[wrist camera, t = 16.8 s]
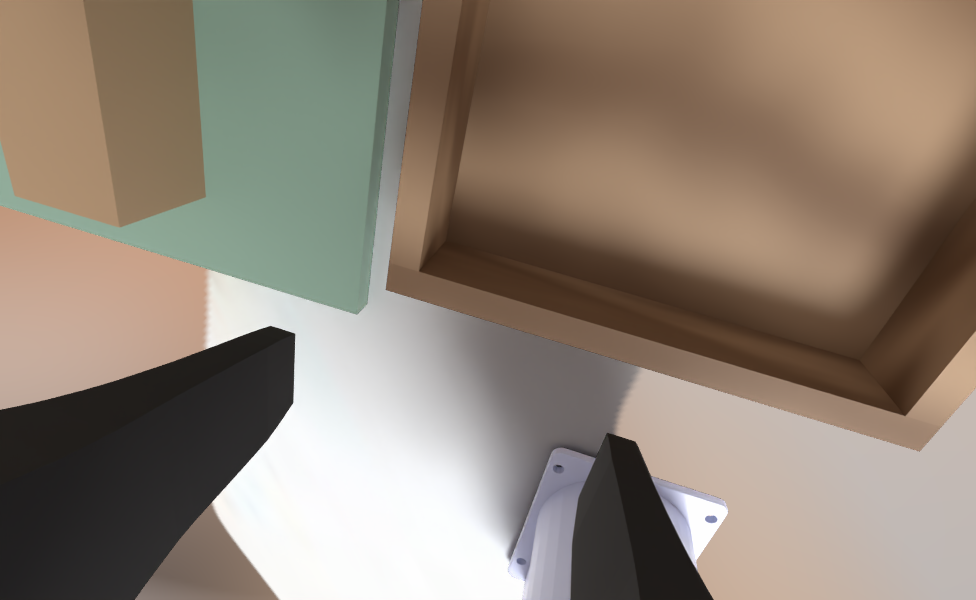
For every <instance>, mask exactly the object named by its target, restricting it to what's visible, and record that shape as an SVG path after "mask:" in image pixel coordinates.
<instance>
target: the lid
mask: <svg viewBox="0 0 976 600" xmlns="http://www.w3.org/2000/svg"><path fill="white" fill-rule="evenodd" d="M398 7H399V0H0V206H3V207H7V208H10V209H13V210H17V211H20V212H23V213H26V214H29V215H33V216H36V217H39V218H43V219H46V220H49V221H52V222H56V223H59V224H62V225H66V226H69V227H72V228H75V229H79V230H82V231H85V232H89V233H92V234H95V235H98V236H102V237H105V238H108V239H111V240H115V241H118V242H121V243H124V244H128V245H131V246H134V247H137V248H141V249H144V250H147V251H151V252H154V253H158V254H160V255H164V256H167V257H170V258H173V259H177V260H180V261H184V262H187V263H190V264H193V265H196V266H200V267H203V268H206V269H209V270H213V271H216V272H219V273H223V274H226V275H229V276H232V277H236V278H239V279H242V280H245V281H249V282H252V283H255V284H259V285H262V286H265V287H268V288H272V289H275V290H278V291H282V292H285V293H288V294H291V295H295V296H298V297H301V298H304V299H308V300H311V301H314V302H318V303H321V304H324V305H327V306H331V307H334V308H337V309H340V310H344V311H347V312H350V313H354V314H358V313H359V312H360V311H361V310H362V309H363V308H364V307H365V306H366V305H367V301H368V292H369V282H370V273H371V263H372V254H373V244H374V235H375V225H376V216H377V206H378V197H379V187H380V178H381V168H382V159H383V149H384V140H385V130H386V121H387V111H388V102H389V92H390V83H391V73H392V64H393V54H394V45H395V35H396V26H397V16H398Z"/></svg>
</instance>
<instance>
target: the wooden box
mask: <svg viewBox="0 0 976 600" xmlns="http://www.w3.org/2000/svg"><path fill="white" fill-rule="evenodd" d="M386 290H388V291H391V292H395V293H398V294H401V295H404V296H408V297H411V298H414V299H418V300H421V301H424V302H428V303H431V304H434V305H437V306H441V307H444V308H447V309H451V310H454V311H457V312H461V313H464V314H467V315H470V316H474V317H477V318H480V319H484V320H487V321H490V322H494V323H497V324H500V325H504V326H507V327H510V328H513V329H517V330H520V331H523V332H527V333H530V334H533V335H537V336H540V337H543V338H546V339H550V340H553V341H556V342H560V343H563V344H566V345H570V346H573V347H576V348H579V349H583V350H586V351H589V352H593V353H596V354H599V355H603V356H606V357H609V358H613V359H616V360H619V361H622V362H626V363H629V364H632V365H636V366H639V367H642V368H646V369H649V370H652V371H655V372H659V373H663V374H665V375H669V376H672V377H675V378H679V379H682V380H686V381H688V382H692V383H695V384H699V385H702V386H705V387H708V388H712V389H715V390H718V391H721V392H725V393H728V394H732V395H735V396H738V397H741V398H745V399H748V400H751V401H755V402H758V403H761V404H764V405H768V406H771V407H774V408H778V409H781V410H784V411H788V412H791V413H794V414H797V415H801V416H804V417H807V418H811V419H814V420H818V421H821V422H824V423H828V424H831V425H834V426H837V427H840V428H844V429H847V430H850V431H854V432H857V433H860V434H864V435H867V436H870V437H874V438H877V439H880V440H883V441H887V442H890V443H893V444H897V445H900V446H903V447H906V448H910V449H913V450H917V451H920V450H921V449H922V448H923V447H924V446H925V445H926V444H927V443H928V442H929V440H930V439H931V438H932V437H933V436H934V435H935V434H936V432H937V431H938V430H939V429H940V428H941V427H942V426H943V425H944V423H945V422H946V421H947V420H948V419H949V418H950V417H951V415H952V414H953V413H954V412H955V411H956V410H957V409H958V408H959V406H960V405H961V404H962V403H963V402H964V401H965V400H966V399H967V397H968V396H969V395H970V394H971V393H972V392H973V391H974V389H975V388H976V0H423V2H422V10H421V18H420V26H419V34H418V41H417V49H416V57H415V65H414V73H413V81H412V88H411V96H410V104H409V112H408V120H407V128H406V135H405V143H404V151H403V159H402V167H401V174H400V182H399V190H398V198H397V206H396V214H395V221H394V229H393V237H392V245H391V253H390V260H389V268H388V276H387V284H386Z"/></svg>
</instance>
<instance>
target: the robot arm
mask: <svg viewBox="0 0 976 600" xmlns="http://www.w3.org/2000/svg"><path fill="white" fill-rule="evenodd" d="M294 358H295V334H294V333H291V332H288V331H285V330H282V329H279V328H275V327H272V326H269V327H266V328H263V329H260V330H257V331H254V332H251V333H248V334H246V335H243V336H240V337H238V338H235V339H232V340H230V341H227V342H224V343H222V344H219V345H217V346H214V347H211V348H209V349H206V350H203V351H201V352H198V353H195V354H192V355H190V356H187V357H184V358H182V359H179V360H176V361H174V362H171V363H168V364H165V365H162V366H159V367H156V368H153V369H150V370H147V371H144V372H141V373H138V374H135V375H132V376H129V377H126V378H123V379H120V380H117V381H114V382H110V383H107V384H104V385H100V386H97V387H93V388H90V389H86V390H83V391H79V392H75V393H71V394H67V395H64V396H60V397H56V398H52V399H48V400H44V401H40V402H36V403H31V404H26V405H22V406H17V407H12V408H7V409H2V410H0V600H135V598H136V597H137V596H138V594H139V593H140V591H141V590H142V589H143V587H144V586H145V584H146V583H147V582H148V580H149V579H150V578H151V576H152V575H153V574H154V572H155V571H156V570H157V568H158V567H159V566H160V564H161V563H162V562H163V560H164V559H165V558H166V556H167V555H168V554H169V552H170V551H171V550H172V548H173V547H174V546H175V544H176V543H177V542H178V540H179V539H180V538H181V537H182V536H183V534H184V533H185V532H186V531H187V530H188V529H189V527H190V526H191V525H192V524H193V523H194V521H195V520H196V519H197V518H198V517H199V516H200V515H201V514H202V513H203V511H204V510H205V509H206V508H207V507H208V506H209V505H210V504H211V503H212V501H213V500H214V499H215V498H216V497H217V496H218V495H219V494H220V493H221V492H222V490H223V489H224V488H225V487H226V486H227V485H228V484H229V483H230V482H231V480H232V479H233V478H234V477H235V476H236V475H237V474H238V473H239V472H240V471H241V469H242V468H243V467H244V466H245V465H246V464H247V463H248V462H249V460H250V459H251V458H252V457H253V456H254V455H255V454H256V453H257V451H258V450H259V449H260V448H261V447H262V446H263V445H264V443H265V442H266V441H267V440H268V439H269V437H270V436H271V434H272V433H273V432H274V430H275V429H276V427H277V426H278V425H279V423H280V422H281V420H282V419H283V417H284V416H285V414H286V413H287V411H288V410H289V408H290V407H291V405H292V404H293V393H294ZM555 465H561V466H562V467H557V466H555ZM727 513H728V509H727V505H726V503H725V502H724V500H722V499H720V498H717V497H714V496H711V495H708V494H705V493H702V492H699V491H696V490H693V489H689V488H686V487H683V486H680V485H677V484H674V483H671V482H668V481H665V480H662V479H659V478H655V477H652V476H651V475H650V473H649V471H648V468H647V466H646V464H645V462H644V459H643V457H642V454H641V452H640V450H639V447H638V446H637V444H636V442H634V441H632V440H628V439H625V438H622V437H619V436H616V435H613V434H609V433H607V434H606V437H605V439H604V441H603V443H602V446H601V448H600V450H599V452H598V455H597V457H596V458H594V457H591V456H587V455H584V454H581V453H578V452H575V451H572V450H569V449H566V448H556V449H554V450H553V451H552V453H551V456H550V458H549V461H548V463H547V466H546V469H545V471H544V474H543V476H542V479H541V482H540V484H539V487H538V490H537V492H536V495H535V497H534V500H533V503H532V505H531V508H530V510H529V513H528V516H527V518H526V521H525V524H524V526H523V529H522V531H521V534H520V537H519V539H518V542H517V544H516V547H515V550H514V552H513V555H512V558H511V560H510V563H509V567H508V572H509V574H510V575H511V576H512V577H514V578H517V579H520V580H523V581H525V585H524V591H523V597H522V600H713V598H712V596H711V595H710V593H709V591H708V589H707V588H706V586H705V584H704V582H703V580H702V579H701V577H700V575H699V573H698V570H697V565H696V559H697V558H698V557H699V555H700V554H701V552H702V551H703V549H704V548H705V546H706V545H707V543H708V542H709V541H710V539H711V537H712V536H713V535H714V533H715V532H716V530H717V529H718V527H719V525H720V524H721V523H722V521H723V520H724V518H725V517H726V515H727ZM707 515H713V516H707Z"/></svg>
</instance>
